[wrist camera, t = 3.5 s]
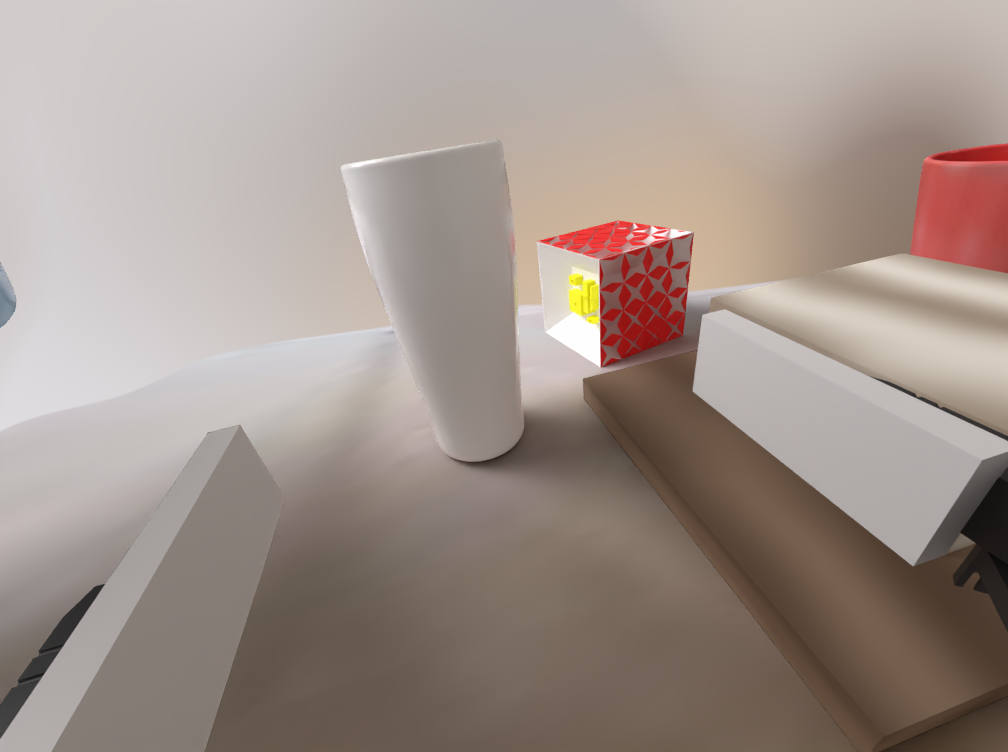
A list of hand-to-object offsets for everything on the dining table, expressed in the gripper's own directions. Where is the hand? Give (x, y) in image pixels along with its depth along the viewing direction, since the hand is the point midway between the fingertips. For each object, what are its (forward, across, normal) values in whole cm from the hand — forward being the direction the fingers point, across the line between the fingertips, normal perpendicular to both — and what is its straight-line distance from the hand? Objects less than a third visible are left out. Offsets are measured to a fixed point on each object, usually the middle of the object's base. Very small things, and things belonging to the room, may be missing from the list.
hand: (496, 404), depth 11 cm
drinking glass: (+10, 0, -9) cm, 13 cm away
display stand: (+2, +19, -8) cm, 21 cm away
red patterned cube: (+18, +13, -9) cm, 24 cm away
